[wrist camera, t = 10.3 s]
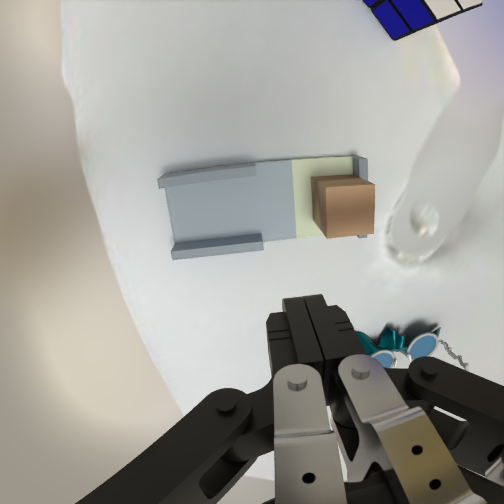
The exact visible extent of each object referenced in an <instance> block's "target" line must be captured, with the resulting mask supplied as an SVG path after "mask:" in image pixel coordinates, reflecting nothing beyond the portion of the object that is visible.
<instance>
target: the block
mask: <svg viewBox="0 0 504 504" xmlns="http://www.w3.org/2000/svg"><path fill="white" fill-rule="evenodd" d="M311 189H312V211H313V221H314V222H315V224H316V225H317V226H318V228H319V229H320V230H321V231H322V233H323V234H324V235H325V237H326V238H336V237H346V236H355V235H365V234H374V212H375V184H373V183H371V182H369V181H367V180H364V179H362V178H360V177H358V176H356V175H353V174H351V175H332V176H317V177H311Z"/></svg>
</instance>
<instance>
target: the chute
mask: <svg viewBox="0 0 504 504" xmlns="http://www.w3.org/2000/svg"><path fill="white" fill-rule="evenodd" d="M351 174H353V175H356V176H358V177H360V178H362V179H364V180H367V181H368V161H367V158H363V157H360V156H338V157H317V158H301V159H287V160H275V161H263V162H253V163H243V164H234V165H226V166H218V167H210V168H202V169H195V170H188V171H181V172H175V173H168V174H164V175H163V176H161V177H160V178H158V179H157V180H158V186H159V189H160V188H165V191H166V197H167V203H168V208H169V214H170V220H171V225H172V230H173V235H174V241H175V244H174V246H173V248H172V250H171V255H172V260H177V259H187V258H196V257H205V256H214V255H224V254H233V253H242V252H251V251H261V250H264V248H263V242H265V241H274V240H284V239H293V238H303V237H313V236H322V235H324V234H323V233H322V231H321V230H320V229H319V228H318V226H317V225H316V224H315V222H314V221H313V211H312V189H311V177H317V176H332V175H351ZM356 236H357V237H359V238H365V237H367V234H365V235H356Z"/></svg>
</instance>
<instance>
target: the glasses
mask: <svg viewBox="0 0 504 504" xmlns="http://www.w3.org/2000/svg"><path fill="white" fill-rule="evenodd" d="M440 329H441V327H439V328H438V329H437V330H435V331H433V332H424V333H421V334H419V335H417V336H416V337H415V338H414V339H413V340H412V341H411V342H410V343H409V345H408V347H406V345H405V334H403V335H402V336H401V335H399V334H398V332H397V331H393V330H392V329H391V328H387V329H386V330H385V331H384V332H383V334H382V336H381V339H380V344H379V345H376V344H375V343H374V342H373V341H372V340H371V339H370V337H369V336H368V335H366V334H364V333H360V332H358V333H357V335H358V337H359V339H360V341H361V343H362V345H363V347H364V349H365V351H366V353H367V355H368V356H371V357H373V358H375V359H377V360H378V361H379V362H380V363H381V365H382V366H383V367H386V368H392V366H393V365H394V368H395V367H396V365H397V359H395V355H394V353H393V352H392V351H396V352H399V351H400V352H401V353H403V354H404V355H405V356H407V358H408V360H409V361H413V360H415V359H416V358H419V357H423V356H430V355H431V354H432V353H433V352H434V351H435V350H436V348H437V346H438V343H439V342H441V344H443V345H444V348H445V349H446V350H447V352H448V354H449V355H450V356H452V357H453V358H454V359H458V360H459V362H460V365H461V366H463V367H464V369H465V370H466V371H468V372H469V365H468V363H463V362H462V356H459V355H458V356H456V355H455V354H454V353H453V352H451V347H448V344H447V343H446V342H443V340H438V336H439V333H440Z"/></svg>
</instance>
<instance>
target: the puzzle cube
mask: <svg viewBox="0 0 504 504" xmlns="http://www.w3.org/2000/svg"><path fill="white" fill-rule="evenodd" d="M363 1H364V2H365V3H366V4H367V6H368V7H370V8H372V12H373V13H374V15H375V16H376V17H377V18H378V20H379V21H380V22H381V24H382V25H383V27H384V28H385V29H386V31H387V32H388V34H389V35H390V36H391V38H392V39H393V40H395V41H396V40H399V39H401V38H403V37H405V36H408V35H410V34H412V33H415V32H417V31H419V30H422V29H424V28H426V27H429V26H431V25H434V24H437V23H439V22H441V21H444V20H446V19H448V18H451V17H453V16H456V15H458V14H460V13H463V12H466V11H468V10H471V9H474V8H477V7H479V6H482V1H481V0H363Z"/></svg>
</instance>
